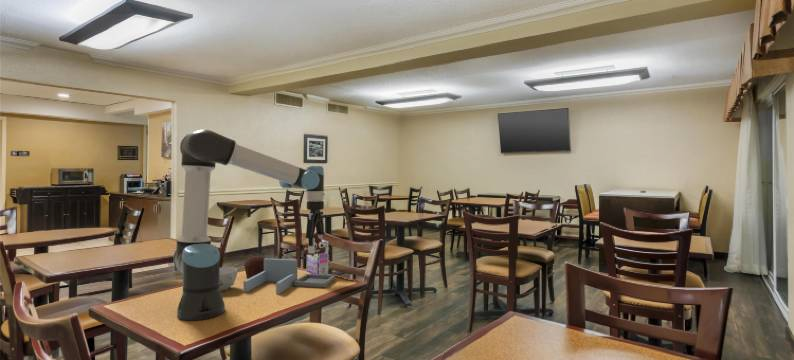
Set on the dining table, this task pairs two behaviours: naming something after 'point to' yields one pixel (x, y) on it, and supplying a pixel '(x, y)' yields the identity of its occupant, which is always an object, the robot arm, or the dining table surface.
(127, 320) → the dining table surface
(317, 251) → the poop emoji
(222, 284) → the teacup
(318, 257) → the candy box
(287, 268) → the bay
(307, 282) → the tray
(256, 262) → the muffin
